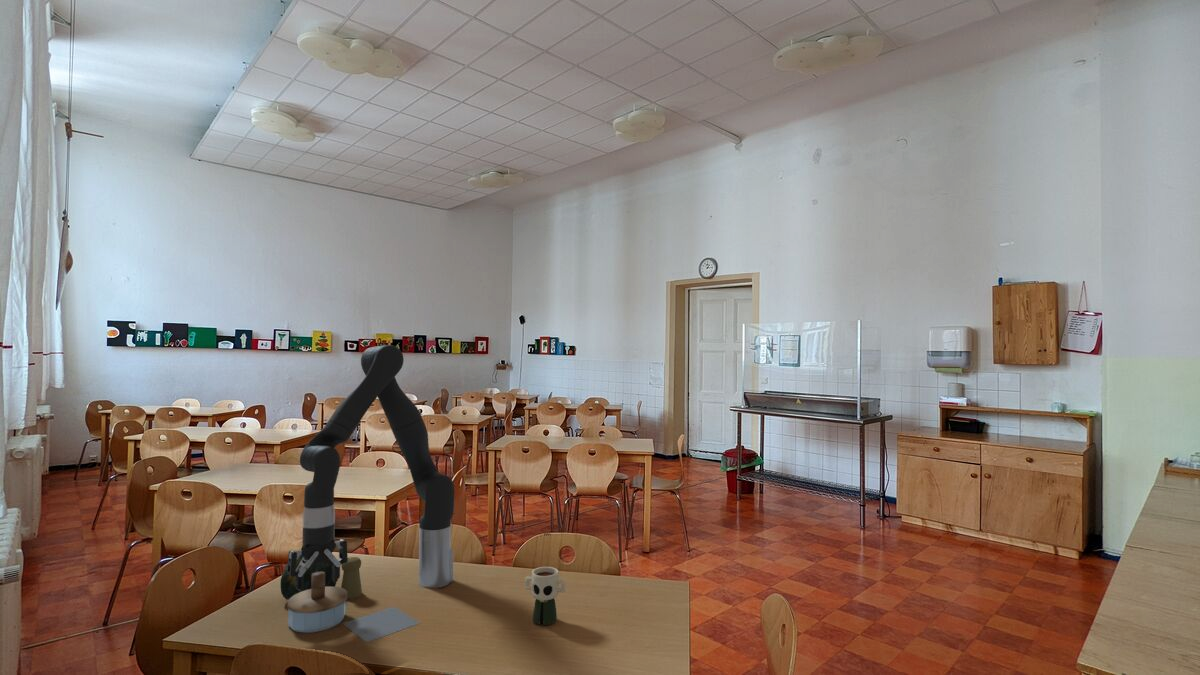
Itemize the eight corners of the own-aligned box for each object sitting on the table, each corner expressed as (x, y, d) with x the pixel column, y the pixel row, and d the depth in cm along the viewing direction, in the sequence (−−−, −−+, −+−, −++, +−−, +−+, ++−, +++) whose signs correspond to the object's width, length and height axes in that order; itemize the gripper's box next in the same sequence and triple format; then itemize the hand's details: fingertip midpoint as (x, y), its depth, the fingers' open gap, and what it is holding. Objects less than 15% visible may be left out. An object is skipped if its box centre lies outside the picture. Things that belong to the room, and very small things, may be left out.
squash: (261, 581, 167) (289, 545, 164) (306, 565, 180) (332, 531, 177) (287, 622, 162) (316, 585, 159) (331, 602, 176) (358, 569, 173)
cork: (354, 602, 166) (354, 562, 166) (334, 600, 167) (335, 561, 167) (366, 593, 172) (367, 555, 172) (348, 591, 173) (348, 553, 173)
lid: (334, 585, 163) (334, 560, 163) (356, 601, 153) (356, 573, 153) (279, 601, 153) (279, 573, 153) (299, 618, 143) (299, 589, 143)
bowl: (332, 607, 162) (333, 587, 162) (353, 623, 153) (353, 601, 153) (281, 623, 153) (281, 601, 153) (299, 640, 144) (300, 617, 144)
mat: (394, 608, 162) (394, 606, 162) (420, 625, 152) (420, 623, 152) (342, 625, 152) (342, 623, 152) (366, 644, 142) (366, 642, 142)
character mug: (520, 625, 152) (521, 574, 152) (528, 613, 159) (529, 565, 159) (561, 629, 150) (562, 578, 150) (568, 617, 157) (568, 568, 157)
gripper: (340, 514, 161) (339, 574, 161) (284, 525, 151) (283, 589, 151) (352, 520, 156) (351, 582, 156) (294, 531, 146) (293, 598, 145)
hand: (317, 585), depth 153 cm, fingers open, 8 cm apart
